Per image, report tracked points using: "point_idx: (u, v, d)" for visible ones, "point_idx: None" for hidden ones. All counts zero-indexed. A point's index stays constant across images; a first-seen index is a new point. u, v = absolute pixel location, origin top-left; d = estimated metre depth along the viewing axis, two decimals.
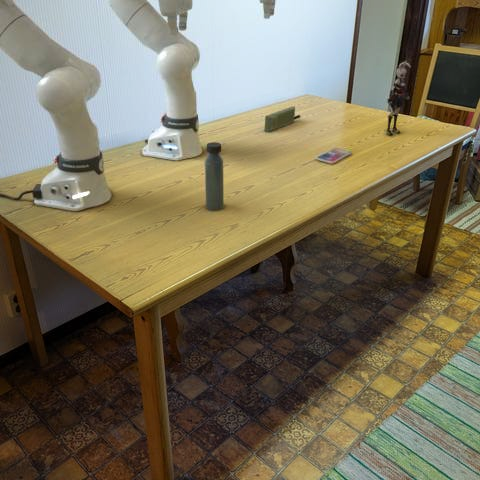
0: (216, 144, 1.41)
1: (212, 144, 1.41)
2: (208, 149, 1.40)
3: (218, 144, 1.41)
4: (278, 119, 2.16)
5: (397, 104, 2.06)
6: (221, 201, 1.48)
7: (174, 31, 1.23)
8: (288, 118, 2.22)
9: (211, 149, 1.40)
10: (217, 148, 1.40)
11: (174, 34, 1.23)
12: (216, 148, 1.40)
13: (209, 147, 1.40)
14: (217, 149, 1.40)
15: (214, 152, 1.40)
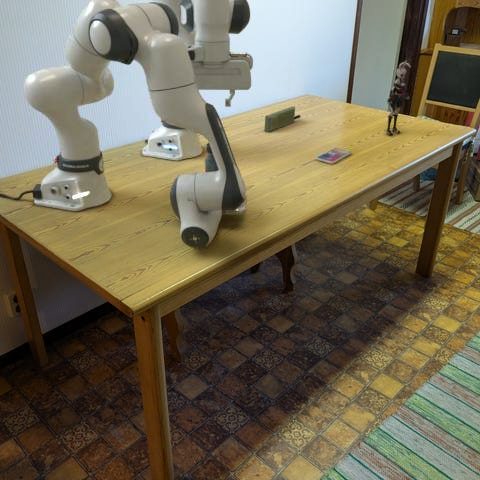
0: None
1: None
2: (208, 149, 1.40)
3: None
4: (278, 119, 2.16)
5: (397, 104, 2.06)
6: None
7: None
8: (288, 118, 2.22)
9: None
10: None
11: None
12: None
13: (209, 147, 1.40)
14: None
15: None
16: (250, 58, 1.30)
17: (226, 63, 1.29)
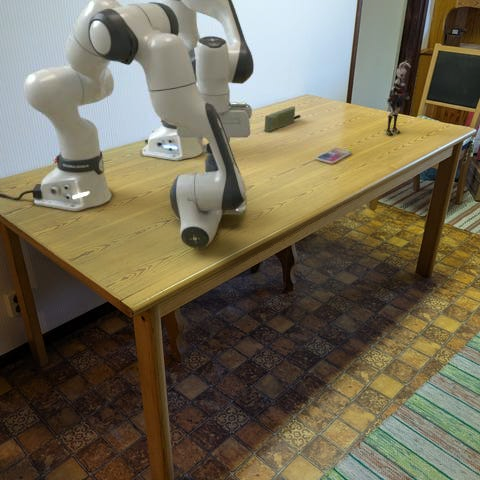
0: None
1: None
2: (208, 149, 1.40)
3: None
4: (278, 119, 2.16)
5: (397, 104, 2.06)
6: None
7: None
8: (288, 118, 2.22)
9: None
10: None
11: None
12: None
13: (209, 147, 1.40)
14: None
15: None
16: (249, 108, 1.36)
17: (226, 113, 1.35)
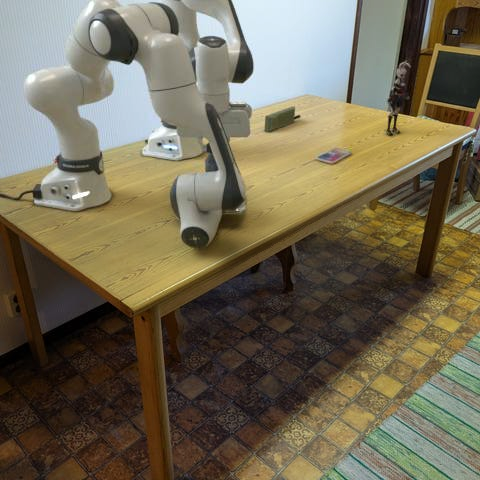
0: None
1: None
2: None
3: None
4: (278, 119, 2.16)
5: (397, 104, 2.06)
6: None
7: None
8: (288, 118, 2.22)
9: None
10: None
11: None
12: None
13: None
14: None
15: None
16: (249, 108, 1.36)
17: (226, 113, 1.35)
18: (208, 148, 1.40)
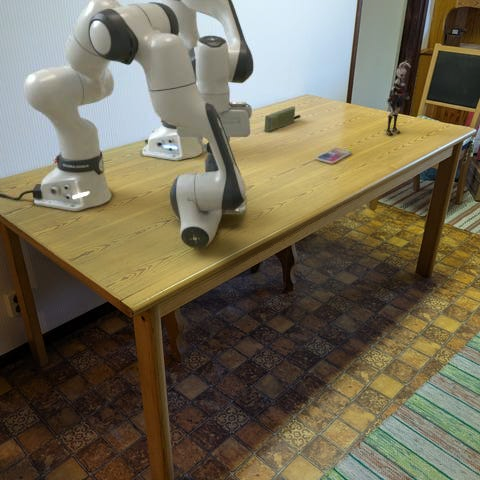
0: None
1: None
2: None
3: None
4: (278, 119, 2.16)
5: (397, 104, 2.06)
6: None
7: None
8: (288, 118, 2.22)
9: None
10: None
11: None
12: None
13: None
14: None
15: None
16: (249, 108, 1.36)
17: (226, 113, 1.35)
18: None
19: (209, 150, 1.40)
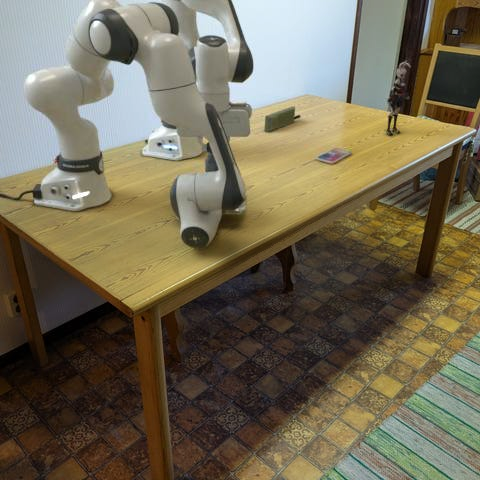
0: None
1: None
2: None
3: None
4: (278, 119, 2.16)
5: (397, 104, 2.06)
6: None
7: None
8: (288, 118, 2.22)
9: None
10: None
11: None
12: None
13: None
14: None
15: None
16: (249, 107, 1.36)
17: (226, 112, 1.35)
18: None
19: None
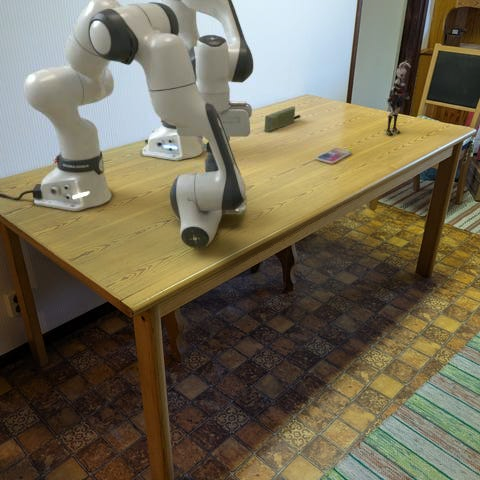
0: None
1: None
2: None
3: None
4: (278, 119, 2.16)
5: (397, 104, 2.06)
6: None
7: None
8: (288, 118, 2.22)
9: None
10: (210, 147, 1.40)
11: None
12: (209, 146, 1.40)
13: None
14: None
15: (208, 151, 1.40)
16: (249, 107, 1.36)
17: (226, 112, 1.35)
18: None
19: None
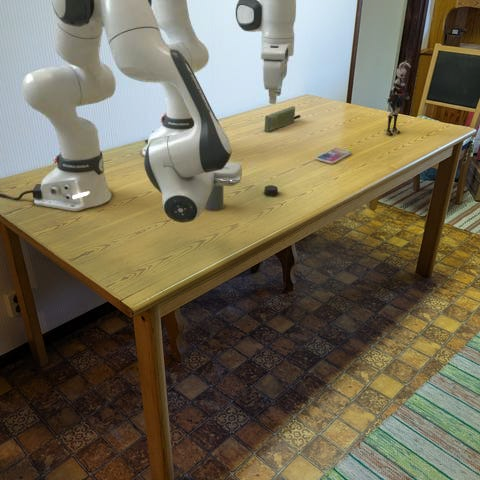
0: (271, 186, 1.59)
1: (271, 188, 1.58)
2: (276, 192, 1.57)
3: (269, 186, 1.59)
4: (278, 119, 2.16)
5: (397, 104, 2.06)
6: (221, 201, 1.48)
7: None
8: (288, 118, 2.22)
9: (277, 190, 1.58)
10: None
11: None
12: None
13: (277, 189, 1.57)
14: None
15: None
16: None
17: None
18: (268, 192, 1.57)
19: (264, 191, 1.59)
